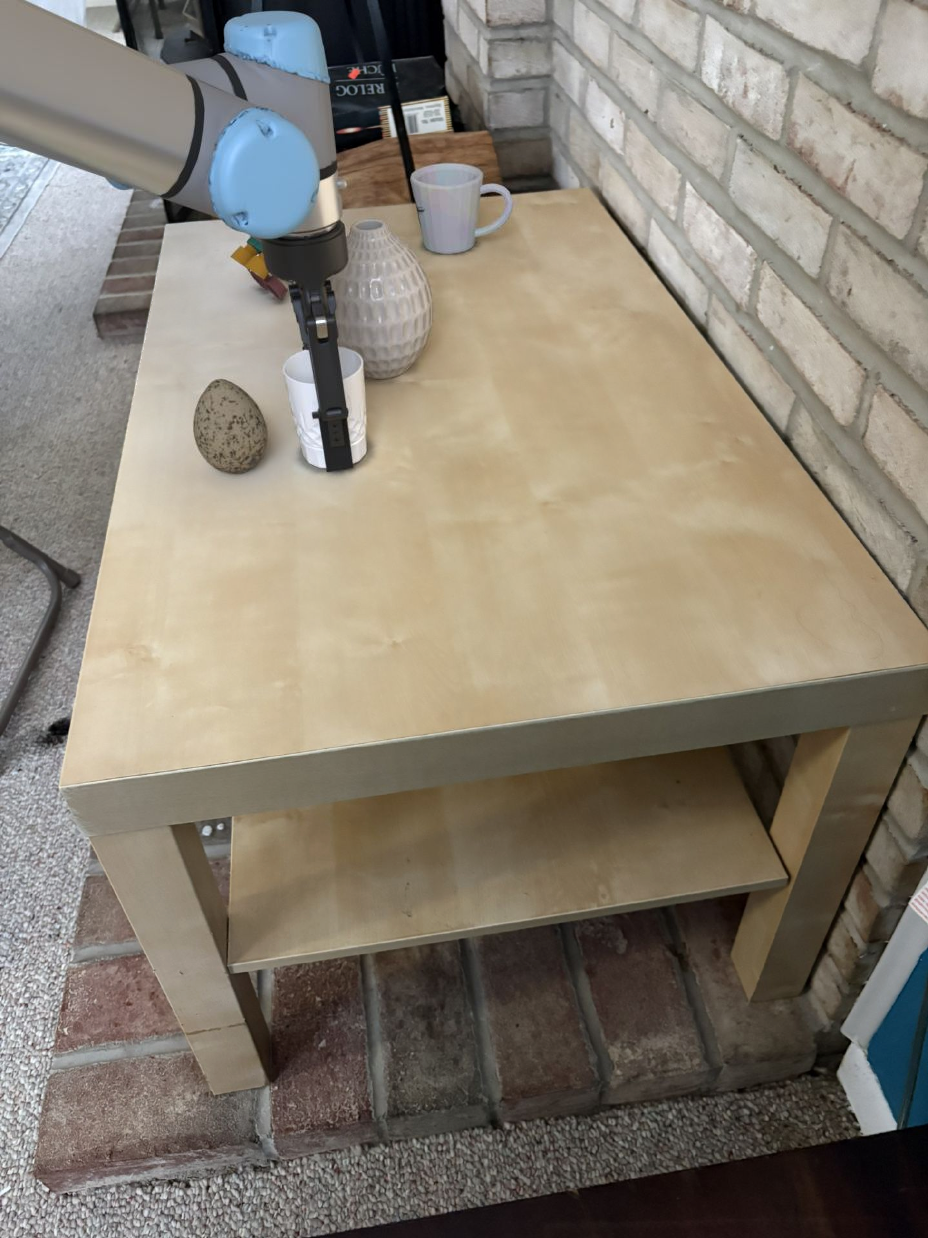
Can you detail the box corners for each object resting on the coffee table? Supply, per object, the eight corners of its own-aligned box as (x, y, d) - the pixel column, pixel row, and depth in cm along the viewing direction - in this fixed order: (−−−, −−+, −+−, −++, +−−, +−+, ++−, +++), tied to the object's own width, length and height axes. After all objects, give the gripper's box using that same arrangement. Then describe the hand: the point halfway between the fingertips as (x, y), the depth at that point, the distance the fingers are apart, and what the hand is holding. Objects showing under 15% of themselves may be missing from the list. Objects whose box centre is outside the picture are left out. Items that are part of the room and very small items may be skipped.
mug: (423, 230, 142) (419, 160, 136) (518, 234, 140) (519, 164, 133) (407, 256, 135) (402, 184, 128) (507, 261, 132) (507, 188, 126)
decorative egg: (189, 472, 95) (165, 384, 88) (243, 442, 99) (223, 356, 92) (235, 496, 91) (213, 407, 85) (288, 464, 95) (271, 376, 89)
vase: (331, 398, 105) (310, 252, 94) (327, 347, 114) (307, 208, 103) (443, 387, 106) (435, 241, 95) (429, 337, 115) (421, 199, 104)
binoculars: (265, 295, 131) (217, 246, 123) (306, 247, 131) (262, 194, 123) (297, 317, 126) (249, 267, 118) (340, 266, 126) (296, 212, 118)
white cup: (326, 482, 93) (312, 392, 86) (283, 451, 97) (266, 363, 90) (387, 452, 96) (379, 364, 89) (343, 423, 101) (332, 338, 94)
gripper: (362, 261, 74) (386, 495, 89) (328, 181, 89) (354, 394, 104) (268, 273, 73) (310, 508, 88) (250, 190, 87) (288, 404, 103)
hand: (334, 446), depth 96 cm, fingers closed on white cup, 8 cm apart
